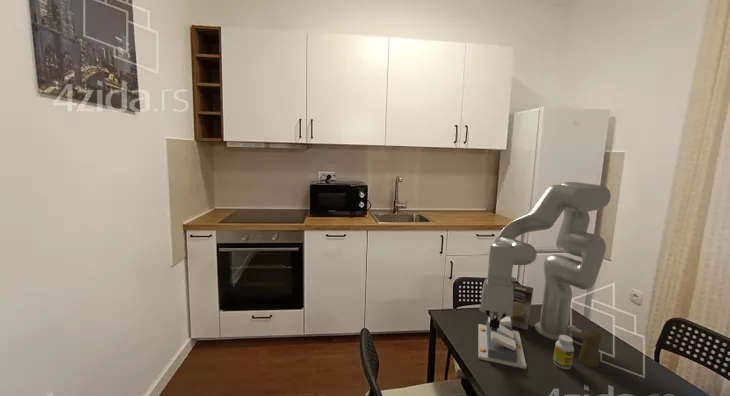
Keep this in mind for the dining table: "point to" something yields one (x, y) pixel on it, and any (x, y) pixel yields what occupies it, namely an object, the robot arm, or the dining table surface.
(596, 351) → the cork
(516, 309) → the coffee box
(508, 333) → the rocker middle
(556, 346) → the supplement bottle
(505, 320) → the rocker back
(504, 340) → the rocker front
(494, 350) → the switch unit
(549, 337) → the robot arm
